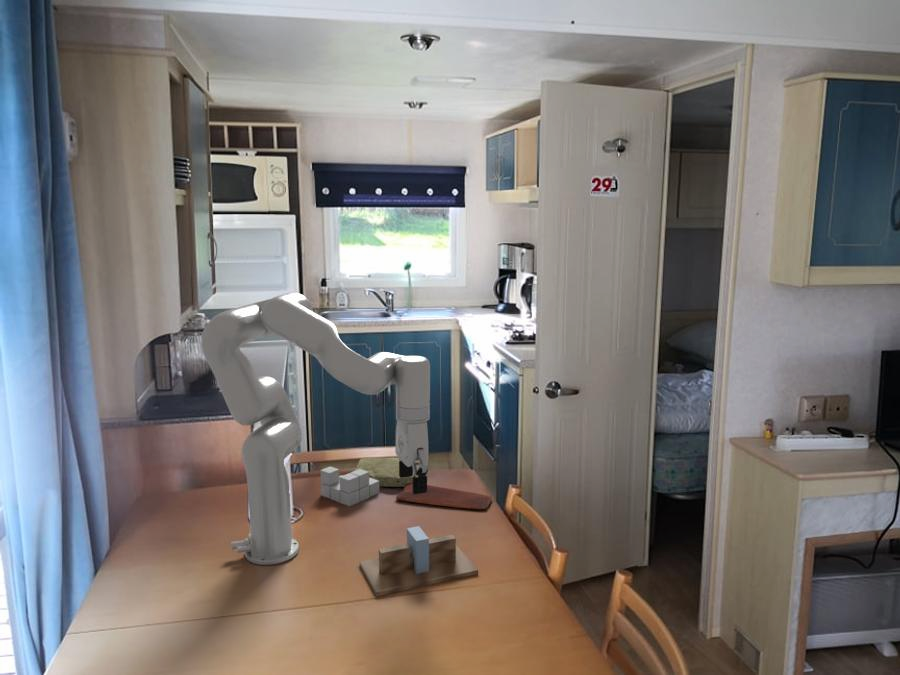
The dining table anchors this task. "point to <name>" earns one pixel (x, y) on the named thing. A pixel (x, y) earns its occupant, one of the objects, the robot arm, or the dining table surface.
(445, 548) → the walnut stand
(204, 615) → the dining table surface
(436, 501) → the wooden tablet
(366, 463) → the olive green flat block
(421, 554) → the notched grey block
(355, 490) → the puzzle cube
